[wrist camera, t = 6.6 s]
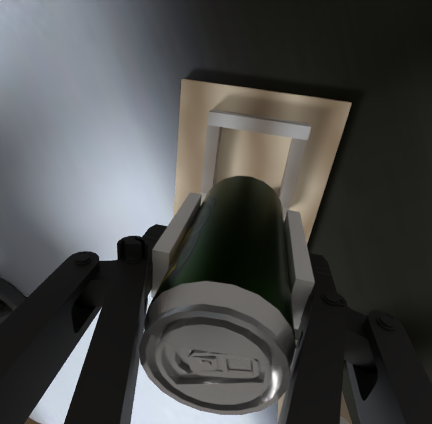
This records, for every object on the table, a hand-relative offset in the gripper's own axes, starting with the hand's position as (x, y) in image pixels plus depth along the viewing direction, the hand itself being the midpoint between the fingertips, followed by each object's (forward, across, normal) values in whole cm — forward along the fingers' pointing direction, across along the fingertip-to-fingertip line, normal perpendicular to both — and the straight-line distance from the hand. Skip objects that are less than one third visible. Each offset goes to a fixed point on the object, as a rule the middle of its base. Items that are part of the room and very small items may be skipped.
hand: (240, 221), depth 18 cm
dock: (+14, 0, -5) cm, 15 cm away
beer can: (+2, 0, 0) cm, 2 cm away
